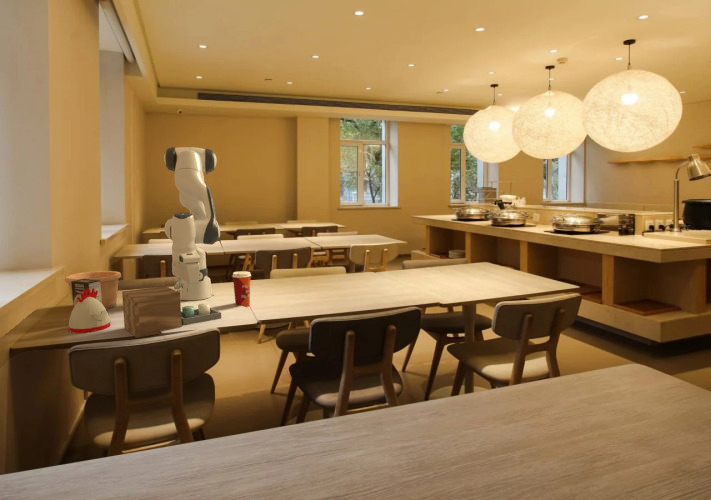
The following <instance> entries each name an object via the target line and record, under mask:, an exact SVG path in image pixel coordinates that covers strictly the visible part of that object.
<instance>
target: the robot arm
mask: <svg viewBox="0 0 711 500" xmlns="http://www.w3.org/2000/svg"><path fill="white" fill-rule="evenodd" d="M163 162H164V164H165V166H166V167H165V168H167V170H168V171H172V172H174V185H175V187H176V189H177V190H178V191H179V194H178V195H179V203H180V205H182V207H184V208H186V209H187V210H188V211H189V212H184V211H183V212H176V213H174V214H173V215H172V218H170V219H168V220H167V221H166V222H165V224H164V233H165V236H167V239H169V240H171V241H172V243H171V244H172V245H171V253H172V254H171V256H172V257H171V258H172V260H171V261H172V262H171V268H172V270H171V273H172V275H173V276H175V277H176V280H177V282H176V284H174V285H173V290H175V291H177V292H180V301H199V300H206V299H209V298H210V297H212V296H215V292H214V291H212V283H211V278H210V277H209V276H208V271H209V270H208V267H207V259H206V257H207V256H206V254H207V253H206V252H205V250H204V249H203V248H201V247H199V246H197V245H198V244H199V245H200V244H201V245H203V244H204V245H210V246H211V245H214V244H216V243H217V242H218V241H219V240H220V237H221V228H220V225H219V223H218V219H217V213H216V210H215V209H216V208H215V204H214V203H215V202H214V198H213V195H212V190H211V188H210V186H209V185H208V184H206V183H205V177H204V173H205V175H208V174H209V173H211V172H213V171H214V170H215V169H216V166H217V162H218V159H217V155H216V153H215V151H214V150H213V149H212V148H211V149H210V148H201V147H193V146H192V147H189V146H185V147H184V146H183V147H181V146H180V147H176V146H173V147H168V148H167V149H166V150H165V152H164V155H163Z"/></svg>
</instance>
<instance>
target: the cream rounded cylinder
mask: <svg viewBox="0 0 711 500" xmlns="http://www.w3.org/2000/svg"><path fill="white" fill-rule="evenodd" d="M197 306H198V308H197V309H198V312H199V316H202V315H208V314H210V308H211V305H210V303H200V304H198V305H197Z"/></svg>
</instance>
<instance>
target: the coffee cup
mask: <svg viewBox="0 0 711 500" xmlns="http://www.w3.org/2000/svg"><path fill="white" fill-rule="evenodd" d="M231 277H232V281H233V292H234V301H235V305H236V306H241V307H244V308H248V307H250V305H251V302H250V301H251V277H252V274H251V272H250V271H242V270H241V271H234V272H232V275H231Z"/></svg>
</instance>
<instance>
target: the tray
mask: <svg viewBox="0 0 711 500" xmlns="http://www.w3.org/2000/svg"><path fill="white" fill-rule="evenodd" d="M219 319H222V312H220V311H218V310H216V309H214V308H213V307H210V314H208V315H202V316H199V312H198V308H194V317H191V318H183V317H182V311H181V323H182V326H186V325H193V324H197V323H202V322H208V321H209V322H210V321H215V320H219Z"/></svg>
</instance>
